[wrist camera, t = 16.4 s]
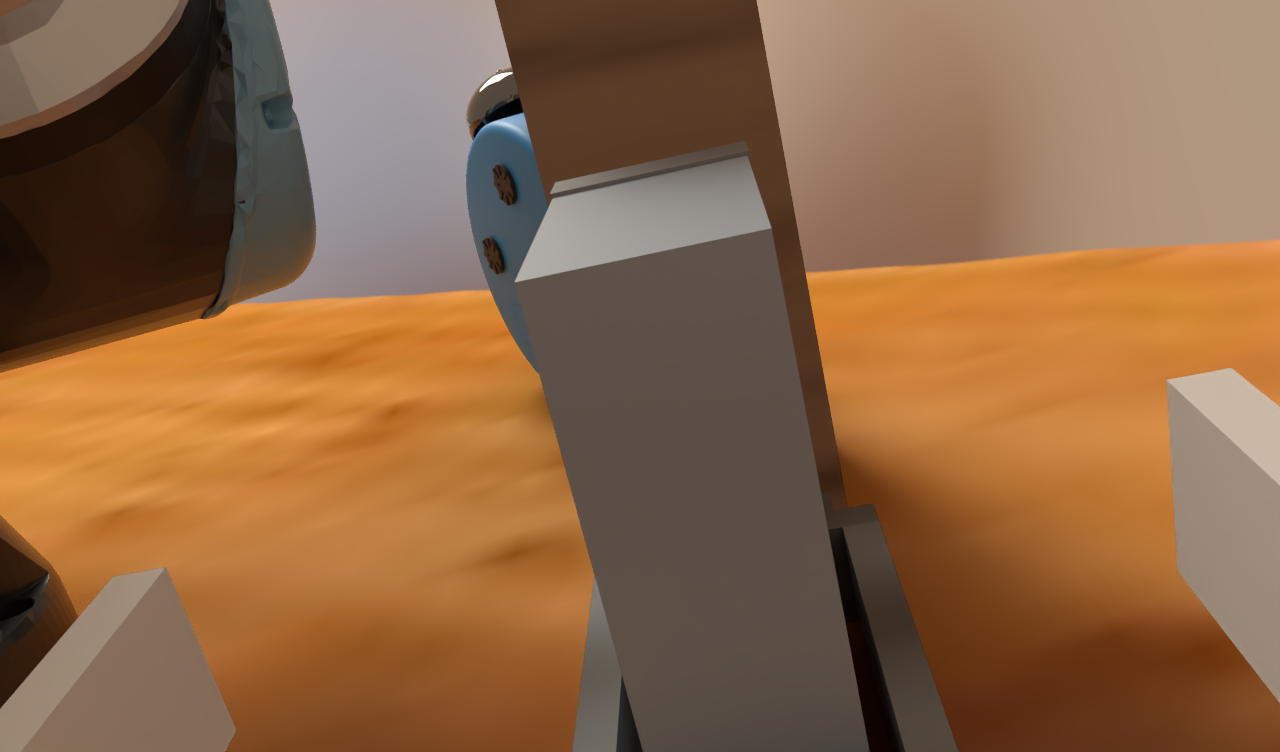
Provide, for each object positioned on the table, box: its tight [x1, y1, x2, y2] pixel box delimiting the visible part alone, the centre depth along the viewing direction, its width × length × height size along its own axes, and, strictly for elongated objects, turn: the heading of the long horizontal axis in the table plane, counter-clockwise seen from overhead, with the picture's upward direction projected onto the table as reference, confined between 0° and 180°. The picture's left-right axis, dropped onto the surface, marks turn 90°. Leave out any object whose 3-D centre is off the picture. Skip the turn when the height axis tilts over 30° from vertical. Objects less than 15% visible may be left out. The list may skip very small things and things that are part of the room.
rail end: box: [514, 141, 870, 752], centre depth 26 cm, size 8×5×14 cm, turn 178°
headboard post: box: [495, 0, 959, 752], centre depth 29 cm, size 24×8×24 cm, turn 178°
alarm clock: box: [466, 67, 548, 375], centre depth 52 cm, size 13×6×15 cm, turn 30°
